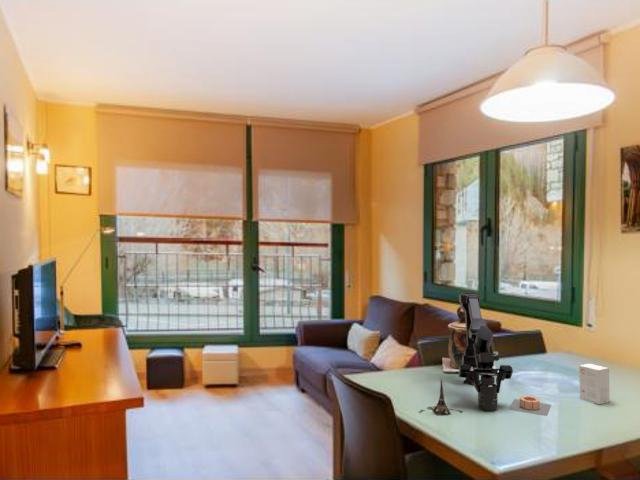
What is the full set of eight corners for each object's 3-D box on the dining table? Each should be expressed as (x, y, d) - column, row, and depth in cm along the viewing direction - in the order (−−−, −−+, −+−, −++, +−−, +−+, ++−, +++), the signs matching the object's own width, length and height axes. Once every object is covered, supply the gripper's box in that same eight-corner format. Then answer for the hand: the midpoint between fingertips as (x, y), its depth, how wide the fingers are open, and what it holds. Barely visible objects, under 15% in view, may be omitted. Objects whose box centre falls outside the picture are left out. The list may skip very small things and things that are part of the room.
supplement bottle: (499, 413, 171) (498, 379, 171) (479, 411, 173) (478, 378, 173) (496, 406, 178) (495, 374, 178) (476, 405, 179) (476, 373, 179)
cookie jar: (441, 360, 246) (440, 298, 246) (491, 362, 241) (491, 299, 241) (443, 373, 222) (442, 304, 222) (499, 376, 216) (498, 305, 216)
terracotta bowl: (521, 402, 181) (521, 394, 181) (540, 405, 177) (540, 397, 177) (518, 408, 175) (518, 400, 175) (538, 411, 172) (538, 403, 172)
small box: (610, 402, 181) (609, 367, 181) (599, 405, 178) (598, 370, 178) (589, 396, 189) (589, 363, 189) (579, 398, 186) (578, 365, 186)
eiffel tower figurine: (467, 413, 173) (467, 376, 172) (458, 422, 164) (458, 384, 164) (428, 405, 181) (427, 370, 181) (417, 414, 173) (417, 377, 173)
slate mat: (514, 399, 185) (514, 399, 185) (551, 405, 178) (551, 404, 178) (507, 410, 174) (507, 409, 174) (547, 416, 167) (547, 416, 167)
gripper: (459, 342, 181) (464, 380, 170) (511, 343, 178) (519, 382, 167) (456, 358, 188) (461, 395, 177) (506, 359, 186) (513, 397, 175)
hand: (488, 392), depth 174 cm, fingers closed on supplement bottle, 7 cm apart
